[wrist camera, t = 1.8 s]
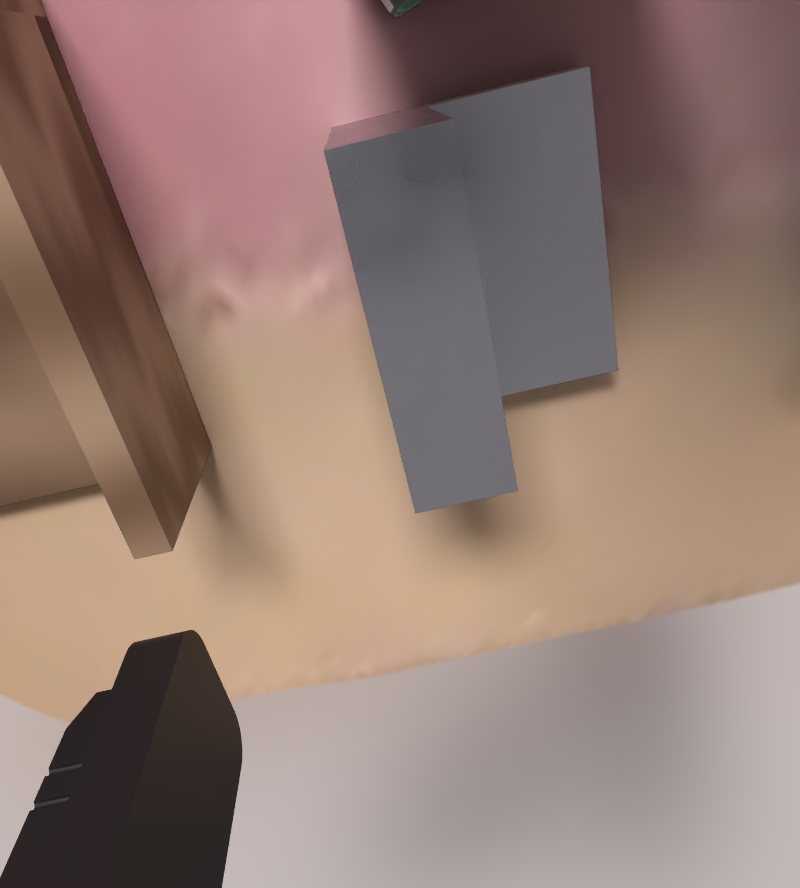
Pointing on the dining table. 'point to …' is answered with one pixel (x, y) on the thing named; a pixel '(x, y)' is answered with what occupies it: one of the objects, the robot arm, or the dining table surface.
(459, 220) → the bracket
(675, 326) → the dining table surface
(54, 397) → the corner arena
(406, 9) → the coffee box
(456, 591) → the dining table surface
